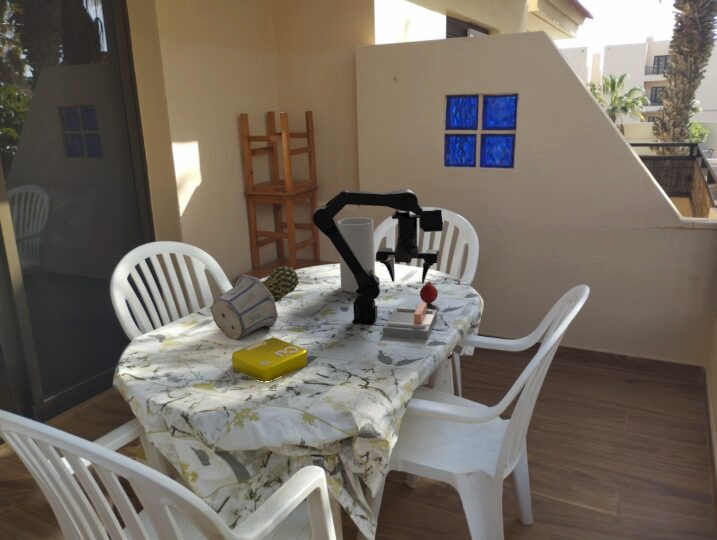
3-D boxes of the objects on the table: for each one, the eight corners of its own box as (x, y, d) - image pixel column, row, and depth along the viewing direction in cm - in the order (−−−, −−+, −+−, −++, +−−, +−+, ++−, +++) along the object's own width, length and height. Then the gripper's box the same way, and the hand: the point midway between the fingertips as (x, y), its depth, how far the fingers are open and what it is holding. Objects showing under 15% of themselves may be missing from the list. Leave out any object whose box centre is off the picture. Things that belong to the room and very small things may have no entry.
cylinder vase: (335, 286, 212) (332, 220, 205) (366, 281, 217) (363, 216, 210) (349, 296, 201) (346, 226, 194) (381, 290, 206) (379, 222, 199)
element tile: (274, 350, 160) (273, 334, 159) (310, 365, 151) (309, 348, 149) (229, 368, 150) (227, 352, 149) (265, 386, 140) (263, 368, 139)
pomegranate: (431, 308, 186) (431, 285, 184) (416, 305, 189) (416, 282, 187) (440, 303, 190) (440, 280, 188) (425, 300, 194) (425, 277, 192)
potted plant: (236, 301, 156) (307, 252, 176) (196, 293, 167) (267, 247, 187) (255, 353, 164) (321, 300, 184) (216, 342, 175) (282, 293, 195)
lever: (414, 323, 166) (413, 314, 165) (420, 311, 175) (420, 302, 175) (420, 323, 166) (420, 314, 165) (426, 311, 175) (426, 302, 174)
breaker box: (383, 335, 166) (382, 325, 165) (396, 314, 182) (395, 305, 181) (427, 339, 163) (427, 328, 162) (436, 317, 178) (436, 307, 177)
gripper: (370, 237, 166) (371, 288, 170) (434, 240, 160) (433, 292, 165) (379, 229, 176) (381, 277, 180) (440, 231, 170) (440, 281, 175)
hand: (408, 282), depth 175 cm, fingers open, 9 cm apart
